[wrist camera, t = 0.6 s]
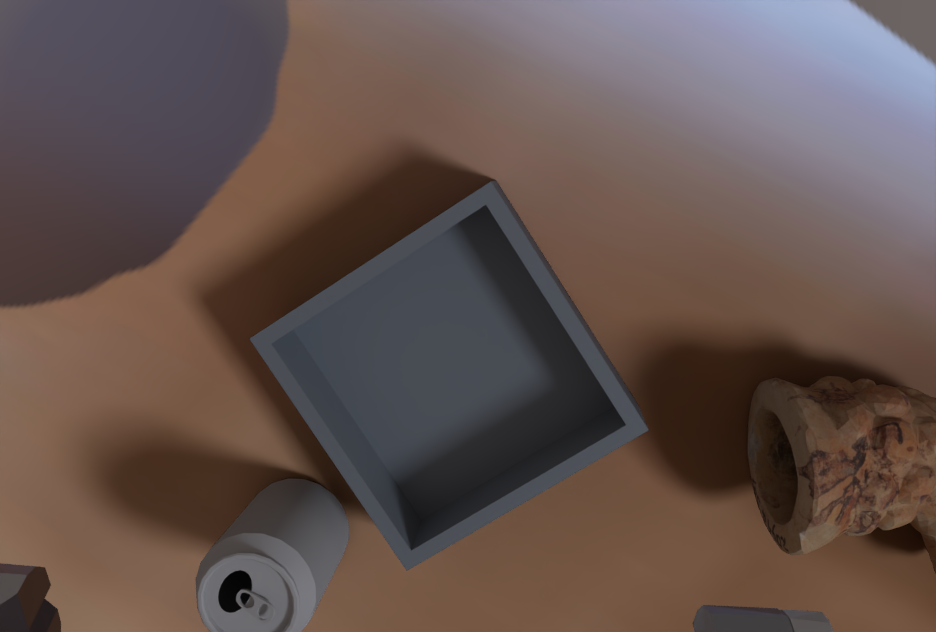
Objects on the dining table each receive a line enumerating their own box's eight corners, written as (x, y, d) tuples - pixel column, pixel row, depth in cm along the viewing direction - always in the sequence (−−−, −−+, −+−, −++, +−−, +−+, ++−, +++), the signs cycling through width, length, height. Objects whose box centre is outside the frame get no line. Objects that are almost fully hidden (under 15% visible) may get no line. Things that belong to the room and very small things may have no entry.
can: (276, 455, 63) (215, 522, 51) (369, 504, 63) (330, 582, 51) (233, 542, 64) (164, 627, 52) (324, 590, 64) (276, 684, 52)
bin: (637, 404, 60) (648, 430, 54) (419, 532, 63) (406, 570, 57) (495, 179, 58) (491, 181, 52) (277, 322, 61) (249, 338, 55)
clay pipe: (848, 300, 62) (673, 411, 59) (959, 294, 51) (753, 429, 49) (970, 528, 63) (805, 646, 61) (1102, 568, 53) (909, 713, 50)
